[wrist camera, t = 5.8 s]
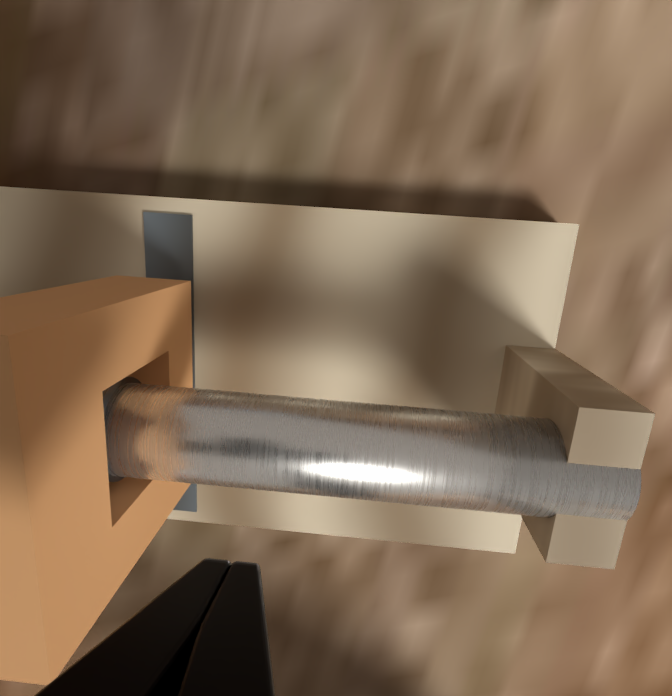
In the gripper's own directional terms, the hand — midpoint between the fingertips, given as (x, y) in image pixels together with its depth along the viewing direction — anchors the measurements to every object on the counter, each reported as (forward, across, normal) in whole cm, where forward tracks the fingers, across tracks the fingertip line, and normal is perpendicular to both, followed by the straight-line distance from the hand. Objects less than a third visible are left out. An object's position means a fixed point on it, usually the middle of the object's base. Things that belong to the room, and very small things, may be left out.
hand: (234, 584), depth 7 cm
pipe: (+6, +2, 0) cm, 7 cm away
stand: (+11, +2, 0) cm, 11 cm away
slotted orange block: (+8, +5, 0) cm, 10 cm away
